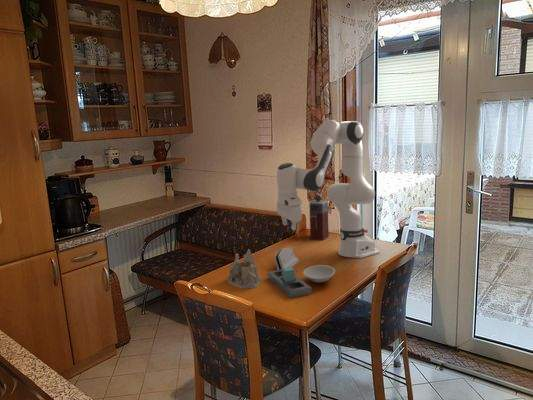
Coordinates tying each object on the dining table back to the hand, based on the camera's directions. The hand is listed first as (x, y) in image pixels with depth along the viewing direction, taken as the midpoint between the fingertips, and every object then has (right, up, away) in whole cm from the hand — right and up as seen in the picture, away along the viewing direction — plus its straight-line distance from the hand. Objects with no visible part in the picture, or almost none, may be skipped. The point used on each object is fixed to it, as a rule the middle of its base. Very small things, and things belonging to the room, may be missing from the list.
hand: (289, 227), depth 196 cm
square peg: (-1, -26, -7) cm, 27 cm away
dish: (+14, -25, -4) cm, 29 cm away
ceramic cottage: (-22, -26, 0) cm, 34 cm away
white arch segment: (0, -21, +20) cm, 29 cm away
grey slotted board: (-1, -26, -7) cm, 27 cm away
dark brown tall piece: (+22, -11, +66) cm, 70 cm away
